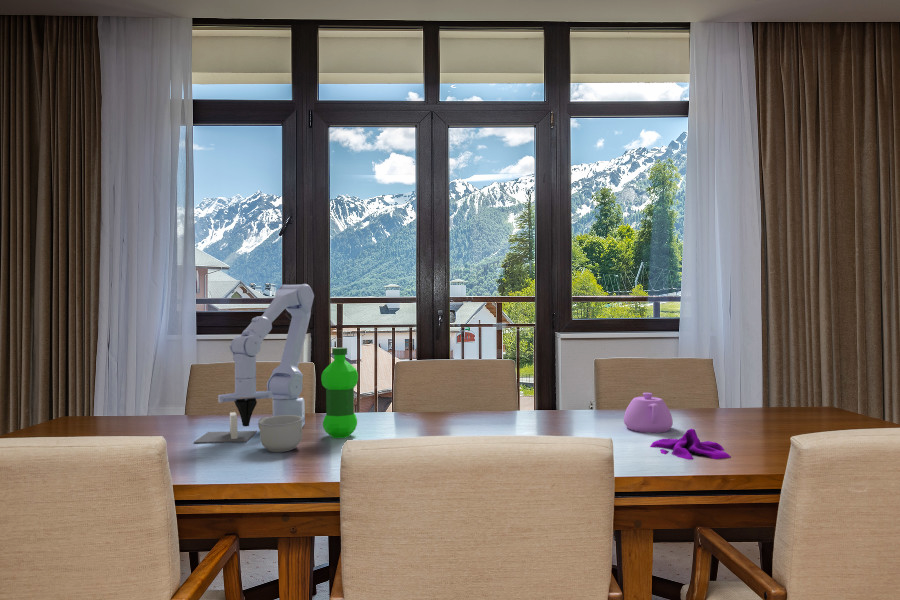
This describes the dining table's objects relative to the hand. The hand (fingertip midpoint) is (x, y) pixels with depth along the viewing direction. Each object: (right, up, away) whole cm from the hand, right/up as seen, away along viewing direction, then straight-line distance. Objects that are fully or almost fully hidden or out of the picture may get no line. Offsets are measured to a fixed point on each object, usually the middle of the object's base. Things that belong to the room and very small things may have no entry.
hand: (245, 425), depth 178 cm
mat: (-5, -3, 0) cm, 6 cm away
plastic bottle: (+27, -3, 0) cm, 27 cm away
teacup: (+13, -3, -14) cm, 19 cm away
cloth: (+118, -3, -21) cm, 120 cm away
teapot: (+116, -3, +8) cm, 117 cm away
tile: (-4, -3, 0) cm, 4 cm away
